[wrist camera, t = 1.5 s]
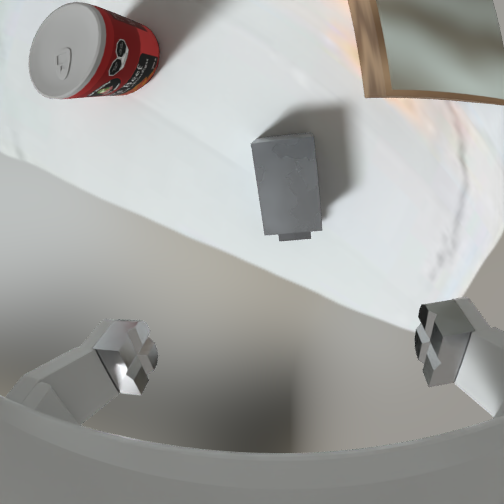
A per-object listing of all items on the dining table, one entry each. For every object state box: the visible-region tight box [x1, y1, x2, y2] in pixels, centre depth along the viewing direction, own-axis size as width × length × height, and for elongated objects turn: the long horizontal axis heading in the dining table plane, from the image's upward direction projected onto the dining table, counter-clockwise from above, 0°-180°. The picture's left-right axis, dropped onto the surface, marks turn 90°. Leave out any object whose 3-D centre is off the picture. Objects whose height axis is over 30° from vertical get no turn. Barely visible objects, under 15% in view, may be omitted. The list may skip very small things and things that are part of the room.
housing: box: [251, 133, 322, 241], centre depth 28 cm, size 10×5×4 cm, turn 9°
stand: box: [348, 0, 504, 105], centre depth 18 cm, size 12×12×8 cm
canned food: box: [29, 2, 160, 99], centre depth 21 cm, size 8×8×11 cm
